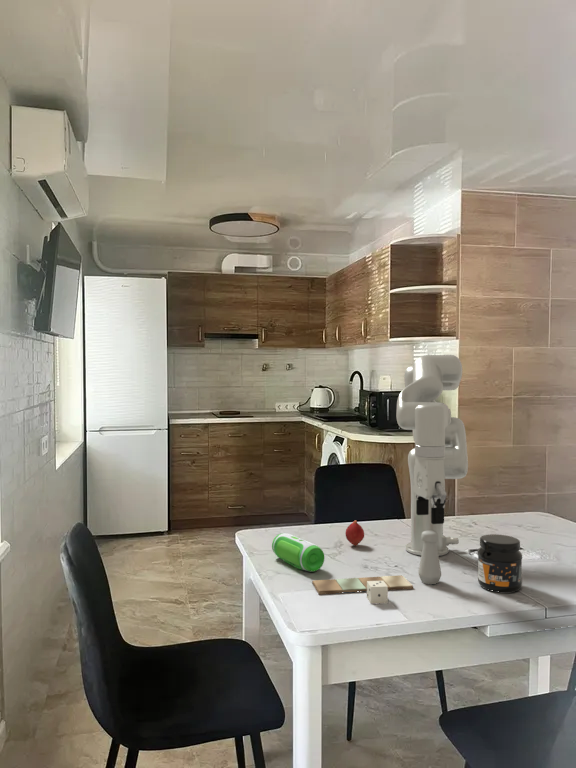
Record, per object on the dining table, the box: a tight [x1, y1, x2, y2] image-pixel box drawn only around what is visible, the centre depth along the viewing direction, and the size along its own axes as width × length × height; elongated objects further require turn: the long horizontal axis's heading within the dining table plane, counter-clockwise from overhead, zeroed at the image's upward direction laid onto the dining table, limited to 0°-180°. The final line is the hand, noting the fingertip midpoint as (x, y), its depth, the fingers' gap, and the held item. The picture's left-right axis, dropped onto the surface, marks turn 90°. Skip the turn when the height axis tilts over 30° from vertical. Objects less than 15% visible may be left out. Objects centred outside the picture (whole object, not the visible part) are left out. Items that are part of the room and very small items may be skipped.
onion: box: [344, 520, 365, 547], centre depth 184 cm, size 6×6×8 cm
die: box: [366, 581, 389, 605], centre depth 139 cm, size 4×4×4 cm
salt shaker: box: [417, 531, 442, 585], centre depth 151 cm, size 6×6×13 cm
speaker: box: [271, 532, 325, 573], centre depth 166 cm, size 18×7×8 cm, turn 32°
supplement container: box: [477, 533, 523, 593], centre depth 148 cm, size 10×10×12 cm
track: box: [311, 575, 414, 596], centre depth 149 cm, size 24×8×1 cm, turn 99°
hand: (429, 519), depth 151 cm, fingers open, 9 cm apart
